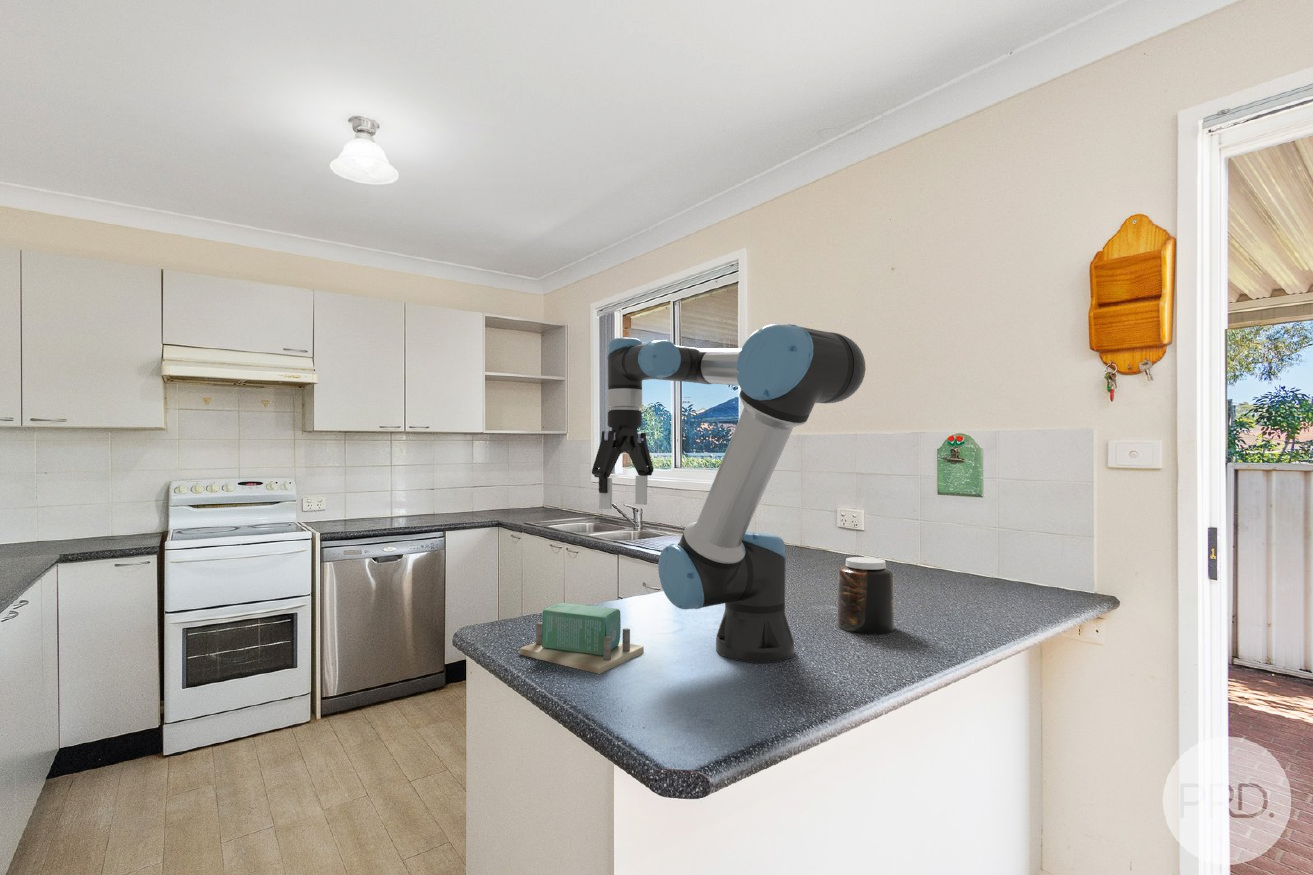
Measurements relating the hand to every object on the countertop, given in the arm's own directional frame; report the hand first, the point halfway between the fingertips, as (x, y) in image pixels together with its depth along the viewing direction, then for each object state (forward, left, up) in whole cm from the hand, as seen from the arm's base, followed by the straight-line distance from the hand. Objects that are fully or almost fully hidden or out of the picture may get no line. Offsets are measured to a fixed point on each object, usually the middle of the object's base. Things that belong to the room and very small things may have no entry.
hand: (624, 506), depth 139 cm
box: (-3, +18, -26) cm, 32 cm away
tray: (-3, +18, -27) cm, 32 cm away
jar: (-44, -31, -27) cm, 60 cm away
